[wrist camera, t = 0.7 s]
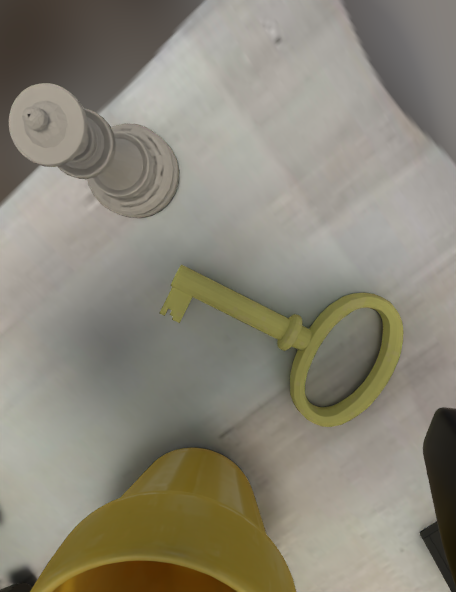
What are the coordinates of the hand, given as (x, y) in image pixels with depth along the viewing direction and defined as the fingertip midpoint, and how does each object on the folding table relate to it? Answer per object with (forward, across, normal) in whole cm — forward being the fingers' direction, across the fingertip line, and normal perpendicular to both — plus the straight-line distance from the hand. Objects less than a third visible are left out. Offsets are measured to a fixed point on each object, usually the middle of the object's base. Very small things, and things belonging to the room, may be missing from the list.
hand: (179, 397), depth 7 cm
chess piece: (+16, +5, 0) cm, 16 cm away
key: (+13, -3, +6) cm, 15 cm away
